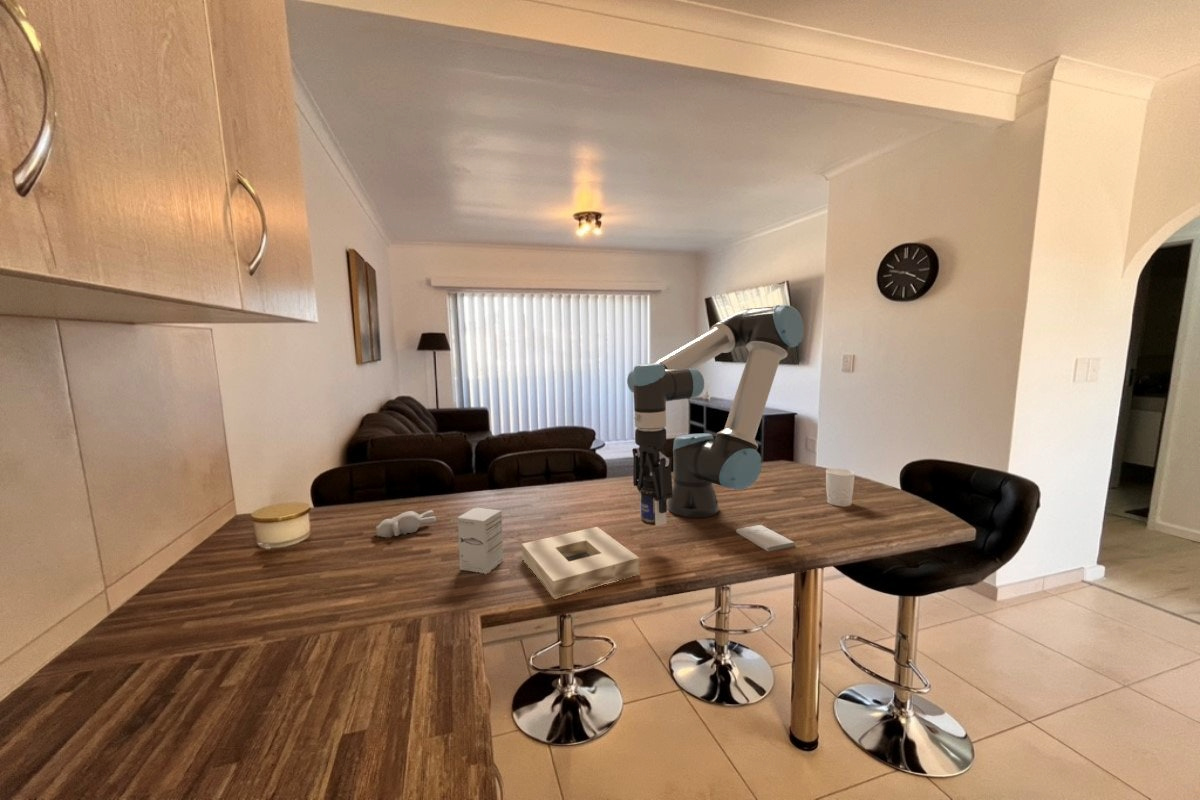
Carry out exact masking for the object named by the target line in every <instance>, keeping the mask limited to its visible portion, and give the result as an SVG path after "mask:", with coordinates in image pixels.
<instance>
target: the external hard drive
mask: <svg viewBox="0 0 1200 800" xmlns="http://www.w3.org/2000/svg"><path fill="white" fill-rule="evenodd" d="M735 531H736V534H739V535H740V536H741V537H743V538H745V539H747V540H748V541H750V542H751V543H753V544H754V545H756V546H758V547H760V548H761V549H763V550H764V551H767V552H772V551H777V550H781V549H782V550H783V549H787V548H793V547H795V546H796V543H795V542H794V541H793V540H791V539H789V538H787V537H785V536H783V535H782V534H779V533H777V532H776V531H774V530H772V529H770V528H768V527H766V526H765V525H762V524H757V525H752V526H746V527H741V528H737V529H736V530H735Z"/></svg>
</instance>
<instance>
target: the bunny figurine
mask: <svg viewBox="0 0 1200 800" xmlns="http://www.w3.org/2000/svg"><path fill="white" fill-rule="evenodd" d="M434 514H435V513H434V510H432V509H431V510H430V509H429V510H426V511H425V512H423V513H421V514H419V513H417V512H416V511H413V510H409V511H408V510H407V511H405V512H402V513H400V514H398V515H397V516H393V517H392V518H385V519H383V520H382V521H381V522H380V523H379V524H378V525H376V527H375V528H376V529H375V530H376V531H375V532H376V536H377V537H381V538H383V537H389V538H391V537H390V536H392V537H394V536H395V537H398V536H399V535H408V534H407V533H410V534H412V533H416V532H417V531H418V529H419V527H420V526H421V524H434V523H436V522H437V518H436V516H432V515H434Z"/></svg>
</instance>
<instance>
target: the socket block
mask: <svg viewBox="0 0 1200 800" xmlns="http://www.w3.org/2000/svg"><path fill="white" fill-rule="evenodd" d="M521 554H522V557H521V559H522V561H523V560H524V561H523V563H524V564H525V563H526V564H527V565H528V566H527V565H526V564H525V565H526V566H527V568H528V569H529V568H530V569H531V570H532V571H533V573H534V574H535V575H536V576H537V578H538V579H539V580H540V582H541V583H542V584H543V585H544V586H545V587H546V589H547V590H548V591H549V593H550V594H551V595H552V596H553V598H556V597H559V596H562V595H565V594H568V593H571V592H576V591H580V590H583V589H587V588H590V587H594V586H598V585H601V584H604V583H608V582H612V581H617V580H620V579H624V578H628V577H631V576H634V575H638V574H639V575H640V557H639V556H638V555H636V554H635V553H634V552H632V551H631V550H630V549H628V548H626V547H625V546H623V544H621V543H619V541H617V540H616V539H614V538H613V537H611V536H610V535H609V534H608V533H606V532H605V531H604V530H603V529H601V528H599V527H598V526H594V527H589V528H586V529H585V528H584V529H581V530H576V531H573V532H568V533H563V534H558V535H555V536H550V537H545V538H541V539H537V540H533V541H532V540H531V541H529V542H524V543H521ZM530 569H529V570H530ZM531 570H530V571H531ZM532 571H531V572H532ZM533 573H532V574H533ZM534 574H533V575H534ZM535 575H534V576H535ZM639 575H638V576H639ZM537 578H536V579H537ZM631 578H632V577H631ZM538 579H537V580H538ZM628 579H629V578H628ZM539 580H538V581H539ZM624 580H625V579H624ZM540 582H539V583H540ZM541 583H540V584H541ZM542 584H541V585H542ZM546 589H545V590H546ZM549 593H548V594H549ZM553 598H552V599H553Z"/></svg>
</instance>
